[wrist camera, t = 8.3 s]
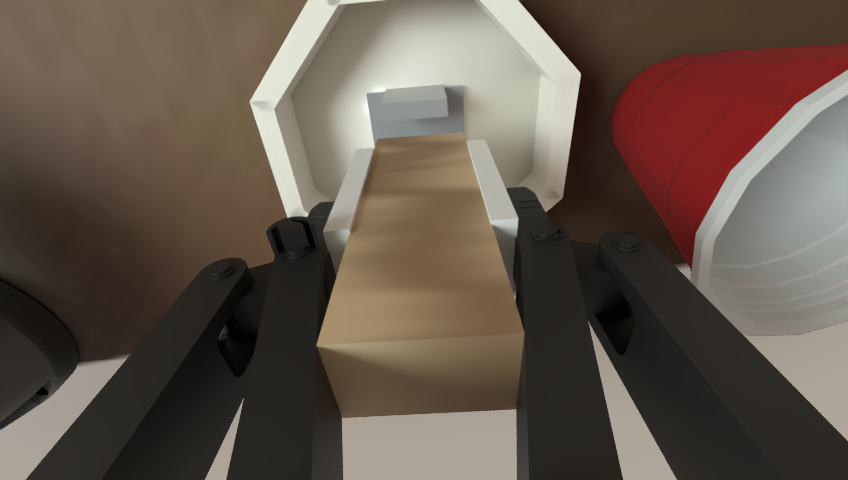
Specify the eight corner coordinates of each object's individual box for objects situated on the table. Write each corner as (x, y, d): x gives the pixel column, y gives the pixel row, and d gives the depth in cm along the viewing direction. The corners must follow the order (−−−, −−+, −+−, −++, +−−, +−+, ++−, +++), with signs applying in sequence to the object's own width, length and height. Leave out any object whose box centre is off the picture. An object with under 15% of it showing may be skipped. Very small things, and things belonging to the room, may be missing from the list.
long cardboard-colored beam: (384, 187, 19) (342, 418, 9) (377, 139, 17) (316, 345, 7) (465, 182, 18) (516, 408, 8) (463, 132, 17) (524, 333, 7)
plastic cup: (732, 187, 24) (961, 330, 14) (560, 206, 24) (661, 356, 14) (810, -19, 18) (1319, -31, 8) (579, 13, 18) (775, 42, 8)
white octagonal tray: (320, 246, 26) (306, 282, 23) (245, -14, 17) (208, -15, 14) (537, 231, 25) (554, 265, 22) (568, -44, 17) (602, -52, 14)
